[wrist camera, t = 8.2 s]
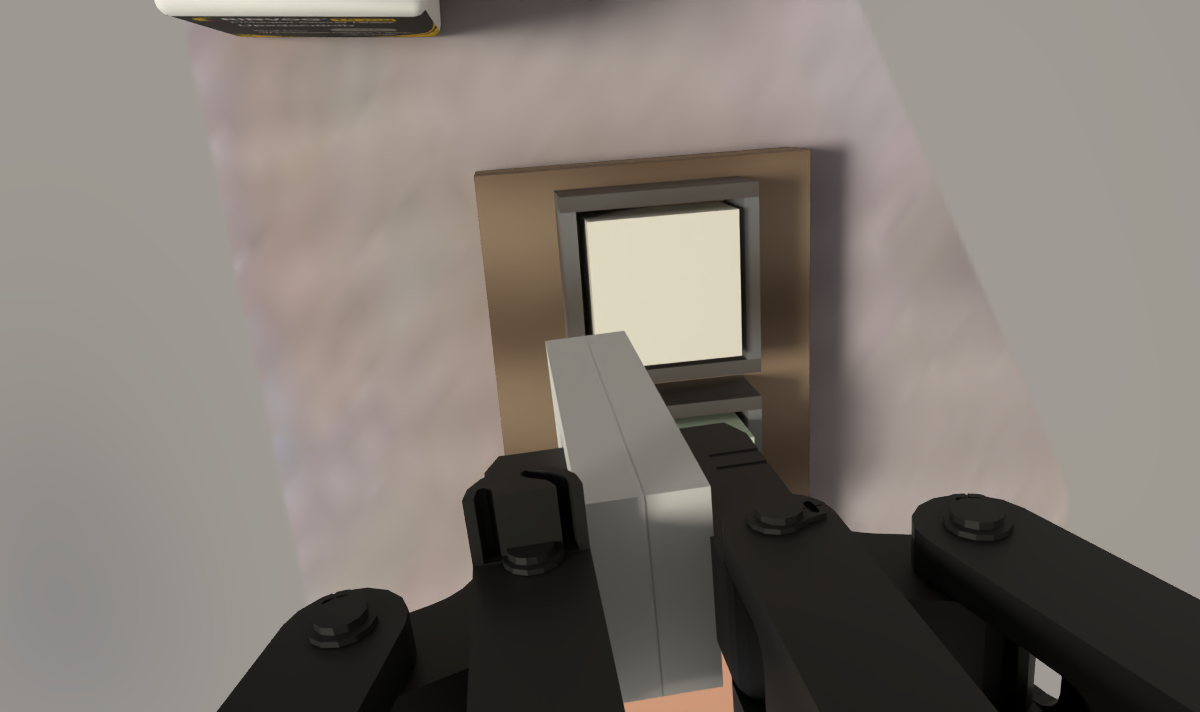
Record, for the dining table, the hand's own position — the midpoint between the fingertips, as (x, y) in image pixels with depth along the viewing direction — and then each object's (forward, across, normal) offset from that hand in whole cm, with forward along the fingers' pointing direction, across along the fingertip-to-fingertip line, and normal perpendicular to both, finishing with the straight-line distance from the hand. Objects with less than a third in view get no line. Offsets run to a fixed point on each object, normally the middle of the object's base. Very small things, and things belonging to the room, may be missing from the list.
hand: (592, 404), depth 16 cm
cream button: (+14, +4, -1) cm, 15 cm away
